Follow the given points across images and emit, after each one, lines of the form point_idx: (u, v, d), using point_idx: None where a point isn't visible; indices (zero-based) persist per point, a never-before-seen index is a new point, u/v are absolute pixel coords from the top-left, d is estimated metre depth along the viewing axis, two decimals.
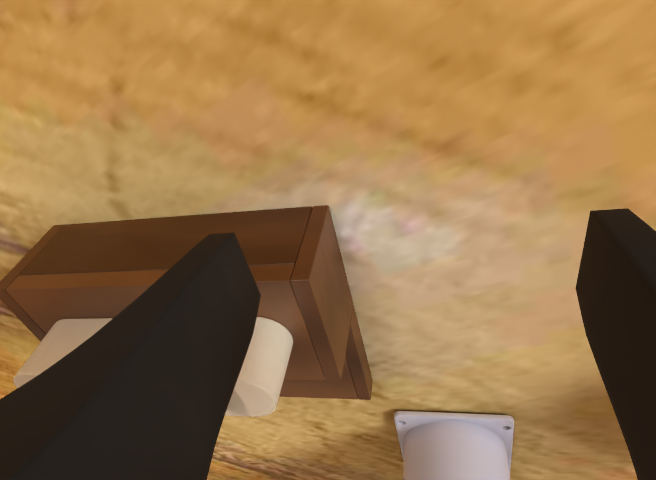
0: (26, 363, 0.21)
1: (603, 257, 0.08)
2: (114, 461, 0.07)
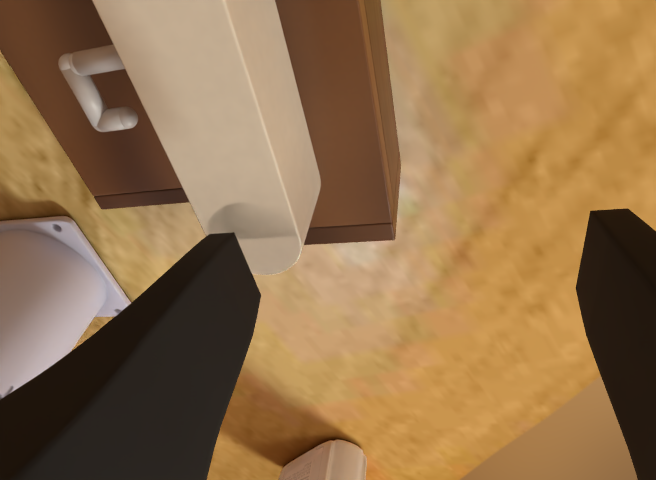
0: None
1: (603, 257, 0.08)
2: (115, 461, 0.07)
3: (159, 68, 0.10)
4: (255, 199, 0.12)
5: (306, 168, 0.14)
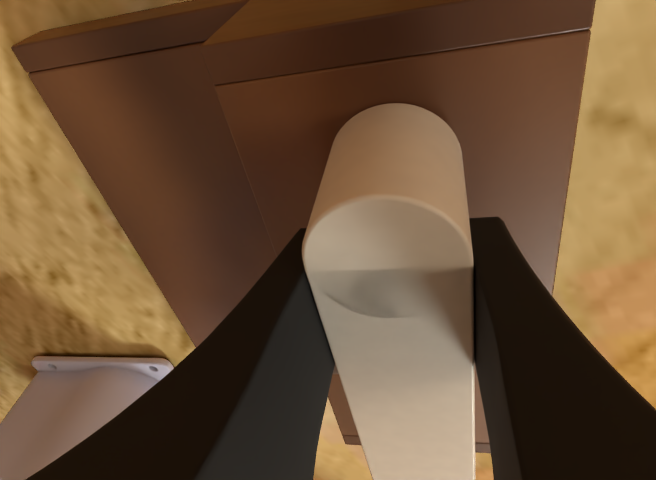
0: (465, 215, 0.07)
1: None
2: (253, 473, 0.06)
3: (387, 421, 0.11)
4: None
5: None
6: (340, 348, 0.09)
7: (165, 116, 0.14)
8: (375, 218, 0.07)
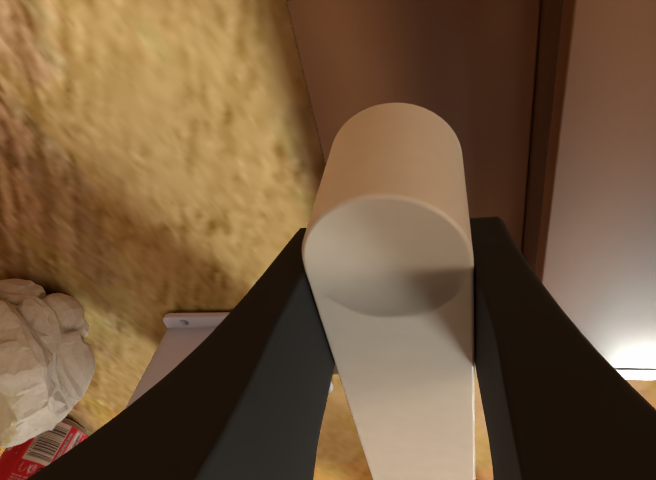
0: (465, 215, 0.07)
1: None
2: (253, 472, 0.06)
3: (387, 421, 0.11)
4: None
5: None
6: (340, 348, 0.09)
7: (415, 41, 0.15)
8: (375, 218, 0.07)
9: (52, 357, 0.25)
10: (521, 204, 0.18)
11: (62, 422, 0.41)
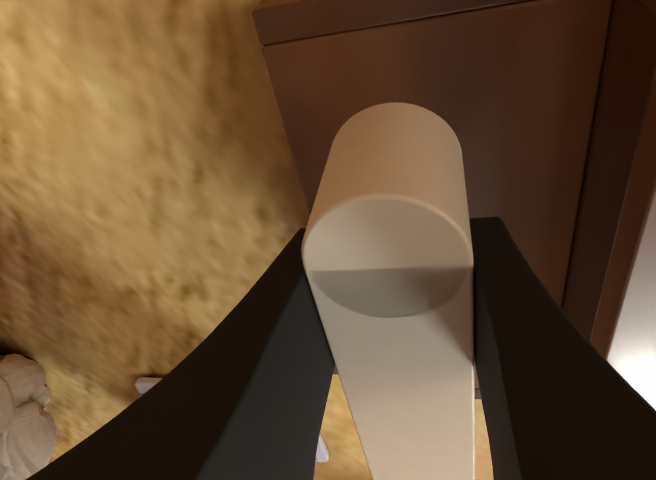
0: (465, 214, 0.07)
1: None
2: (253, 473, 0.06)
3: (387, 421, 0.11)
4: None
5: None
6: (340, 348, 0.09)
7: (432, 101, 0.11)
8: (375, 217, 0.07)
9: (1, 439, 0.22)
10: (559, 289, 0.15)
11: None
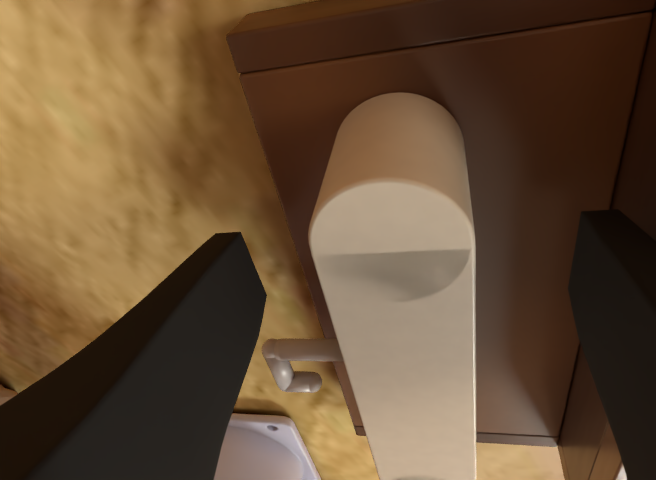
0: (467, 199, 0.08)
1: (593, 257, 0.08)
2: (124, 462, 0.06)
3: (390, 406, 0.11)
4: (441, 473, 0.13)
5: None
6: (345, 332, 0.09)
7: None
8: (380, 201, 0.07)
9: None
10: (575, 337, 0.13)
11: None
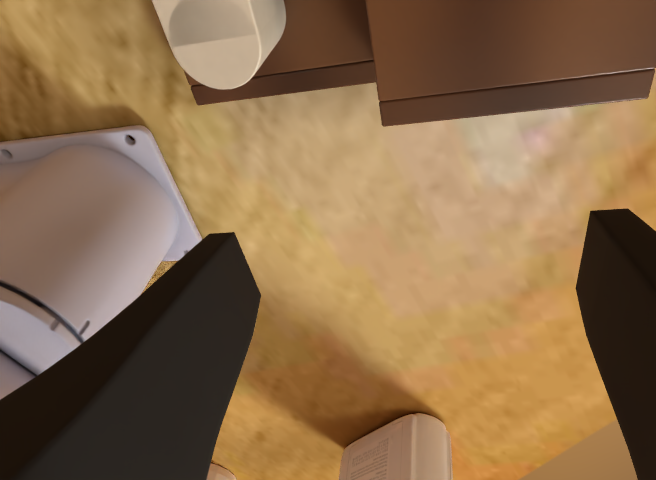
0: None
1: (603, 257, 0.08)
2: (114, 461, 0.07)
3: None
4: None
5: None
6: None
7: None
8: None
9: None
10: None
11: None
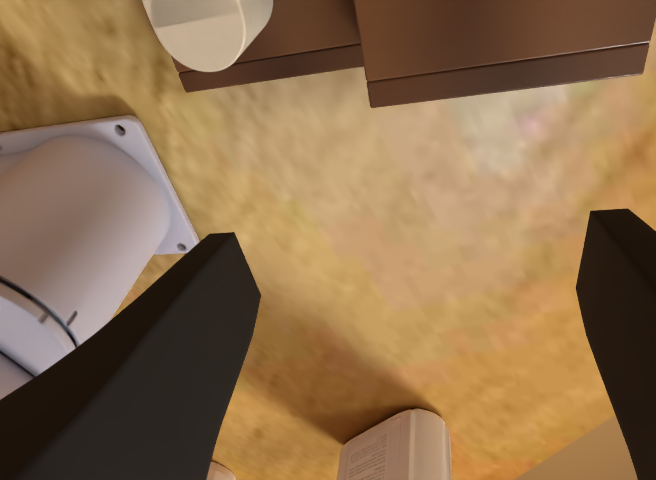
0: None
1: (603, 257, 0.08)
2: (115, 461, 0.07)
3: None
4: None
5: None
6: None
7: None
8: None
9: None
10: None
11: None
